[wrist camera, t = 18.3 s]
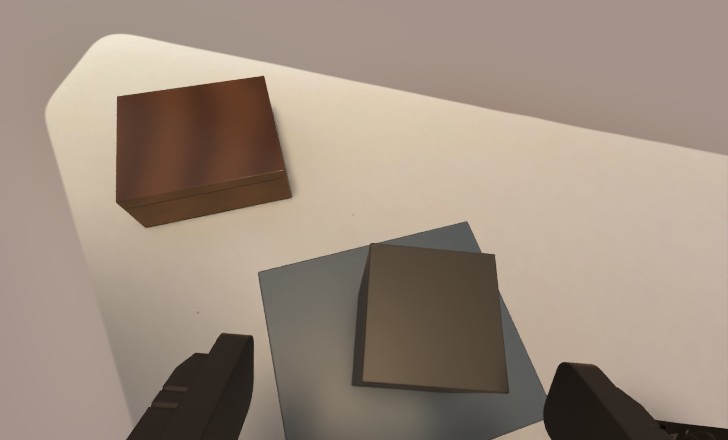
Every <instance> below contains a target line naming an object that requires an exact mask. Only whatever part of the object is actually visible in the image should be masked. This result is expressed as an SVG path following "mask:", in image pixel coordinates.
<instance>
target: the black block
mask: <svg viewBox="0 0 728 440" xmlns="http://www.w3.org/2000/svg"><path fill="white" fill-rule="evenodd" d="M352 386H361V387H374V388H387V389H401V390H414V391H427V392H440V393H500V394H508V393H509V385H508V376H507V366H506V357H505V347H504V338H503V328H502V319H501V309H500V300H499V290H498V280H497V271H496V261H495V255H494V254H485V253H474V252H463V251H452V250H441V249H430V248H419V247H409V246H398V245H387V244H376V243H371V244H370V247H369V252H368V256H367V260H366V264H365V268H364V273H363V277H362V281H361V285H360V289H359V293H358V305H357V318H356V332H355V345H354V358H353V371H352Z"/></svg>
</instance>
